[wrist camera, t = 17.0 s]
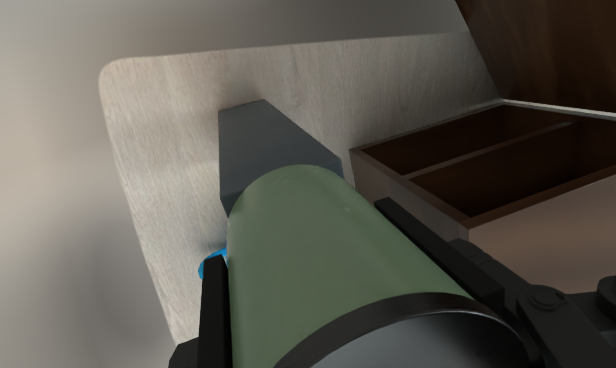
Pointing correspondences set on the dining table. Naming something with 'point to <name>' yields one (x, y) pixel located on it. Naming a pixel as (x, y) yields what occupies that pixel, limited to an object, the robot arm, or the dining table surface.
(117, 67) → the dining table surface
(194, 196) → the dining table surface
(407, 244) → the tin
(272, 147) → the stand
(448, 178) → the cupboard
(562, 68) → the door
